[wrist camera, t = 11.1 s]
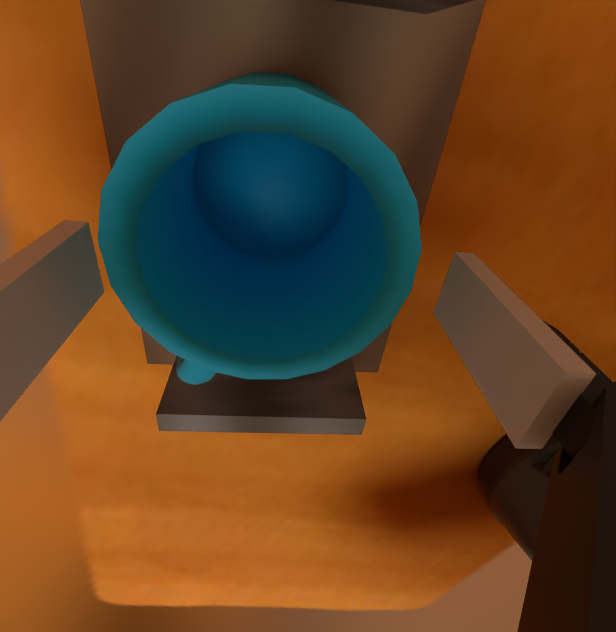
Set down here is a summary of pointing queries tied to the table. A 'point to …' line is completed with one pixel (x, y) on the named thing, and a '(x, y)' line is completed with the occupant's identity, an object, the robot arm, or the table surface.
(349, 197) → the mug
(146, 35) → the holder
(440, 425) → the table surface
